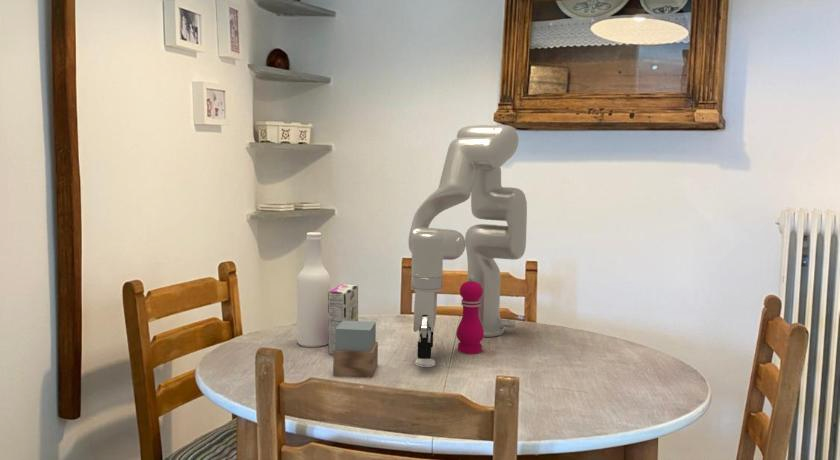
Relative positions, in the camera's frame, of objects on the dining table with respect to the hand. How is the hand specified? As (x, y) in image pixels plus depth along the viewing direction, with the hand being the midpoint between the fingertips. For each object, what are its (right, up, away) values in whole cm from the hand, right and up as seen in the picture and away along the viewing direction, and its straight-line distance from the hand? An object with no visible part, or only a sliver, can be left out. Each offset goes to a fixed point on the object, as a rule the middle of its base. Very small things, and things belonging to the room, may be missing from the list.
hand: (425, 352), depth 157 cm
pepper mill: (+12, -2, +13) cm, 17 cm away
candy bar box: (-21, -2, +12) cm, 24 cm away
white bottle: (-30, -1, +17) cm, 35 cm away
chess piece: (0, -3, 0) cm, 3 cm away
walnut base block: (-16, -3, -6) cm, 18 cm away
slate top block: (-16, +3, -6) cm, 18 cm away
